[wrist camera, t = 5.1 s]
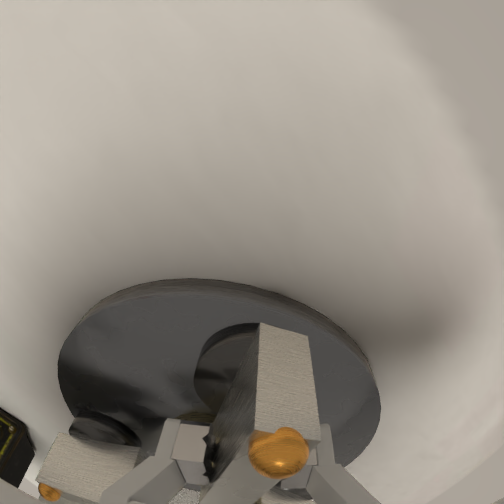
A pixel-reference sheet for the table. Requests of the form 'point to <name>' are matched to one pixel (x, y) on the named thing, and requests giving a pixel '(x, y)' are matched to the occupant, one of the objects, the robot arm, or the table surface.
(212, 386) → the grey lever knob
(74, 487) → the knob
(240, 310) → the plate
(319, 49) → the table surface
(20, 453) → the voltmeter
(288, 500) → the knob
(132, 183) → the table surface
